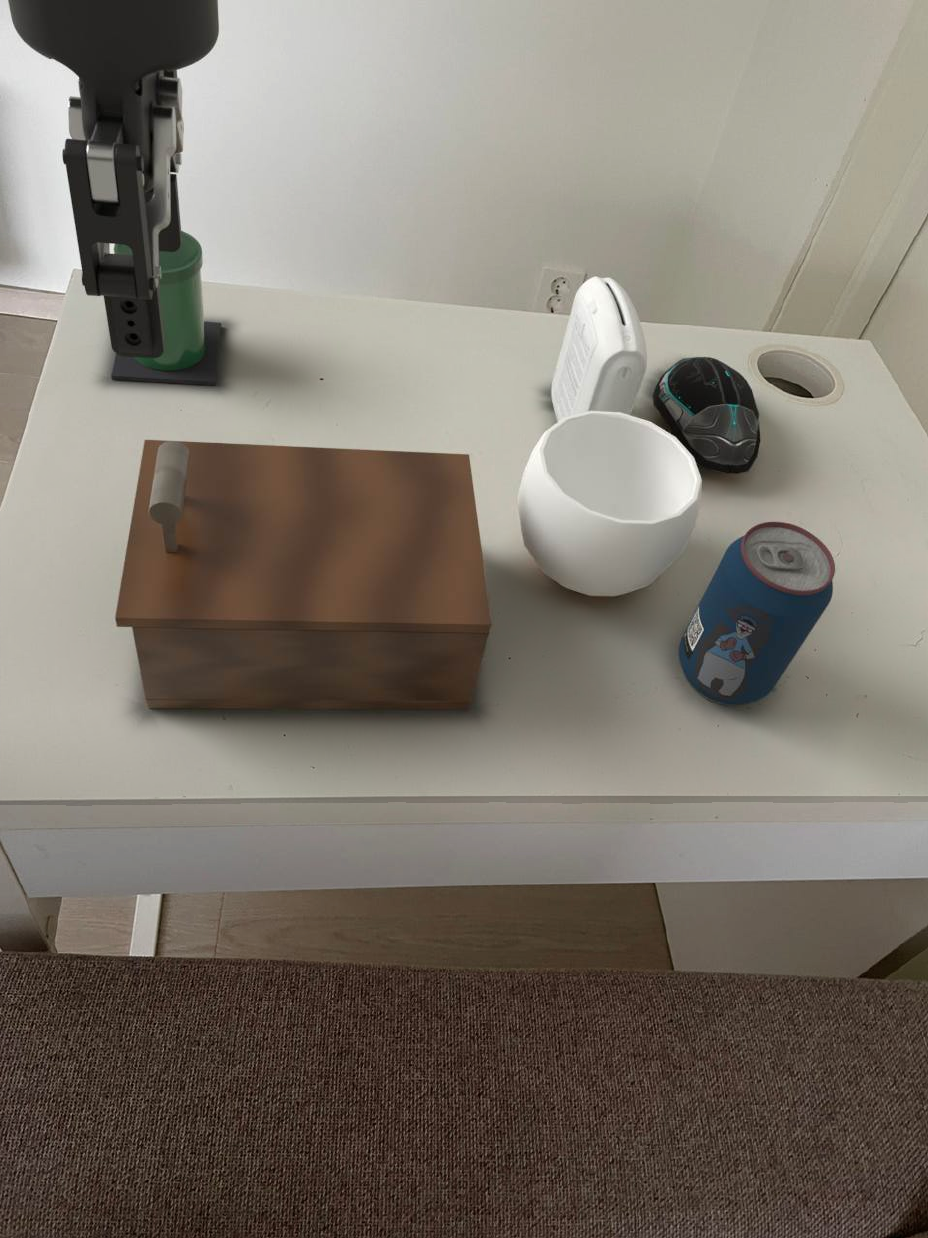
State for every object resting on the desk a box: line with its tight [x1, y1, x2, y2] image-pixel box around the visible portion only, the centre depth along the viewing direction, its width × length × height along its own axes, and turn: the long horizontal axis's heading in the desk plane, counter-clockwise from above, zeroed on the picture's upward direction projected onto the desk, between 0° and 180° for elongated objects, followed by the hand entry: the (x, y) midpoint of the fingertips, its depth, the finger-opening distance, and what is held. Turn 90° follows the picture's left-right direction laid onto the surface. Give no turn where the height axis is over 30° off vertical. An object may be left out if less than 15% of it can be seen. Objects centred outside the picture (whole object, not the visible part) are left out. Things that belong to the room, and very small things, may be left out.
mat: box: [111, 321, 222, 386], centre depth 82 cm, size 8×8×1 cm
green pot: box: [113, 230, 206, 371], centre depth 79 cm, size 6×6×9 cm
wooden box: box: [131, 627, 490, 711], centre depth 64 cm, size 20×14×8 cm
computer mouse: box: [652, 356, 762, 475], centre depth 84 cm, size 9×17×6 cm, turn 1°
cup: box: [516, 411, 703, 597], centre depth 70 cm, size 12×12×10 cm
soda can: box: [678, 521, 836, 706], centre depth 65 cm, size 7×7×12 cm
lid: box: [114, 439, 493, 634], centre depth 59 cm, size 21×14×5 cm
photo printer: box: [550, 275, 648, 423], centre depth 79 cm, size 10×4×12 cm, turn 8°
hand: (149, 297), depth 47 cm, fingers open, 8 cm apart
